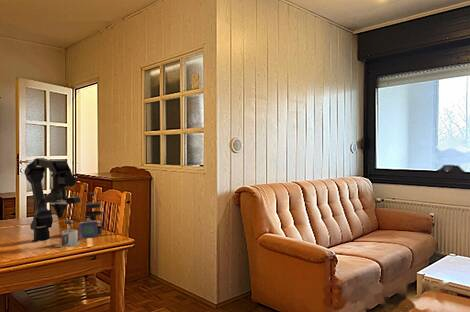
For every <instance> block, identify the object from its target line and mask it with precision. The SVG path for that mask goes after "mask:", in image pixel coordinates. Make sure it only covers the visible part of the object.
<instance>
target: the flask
mask: <svg viewBox="0 0 470 312" xmlns="http://www.w3.org/2000/svg"><path fill="white" fill-rule="evenodd" d="M97 221H98V220H96V221H94V220H93V221H92V220H91V219H90V218H89V217H88V218H86V219H85V221H81V222H79V223H78V240H84V239H91V238H97V237H98V236H99V235H98V226H99V224H98V222H97Z"/></svg>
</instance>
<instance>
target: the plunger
mask: <svg viewBox="0 0 470 312" xmlns="http://www.w3.org/2000/svg"><path fill="white" fill-rule="evenodd" d="M64 224H65V225H67V227H68V230H69V231H68V232H74V231H70V230H71V225H72V224H74V220H73V219H72V220H71V219H70V220H65V222H64Z"/></svg>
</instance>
